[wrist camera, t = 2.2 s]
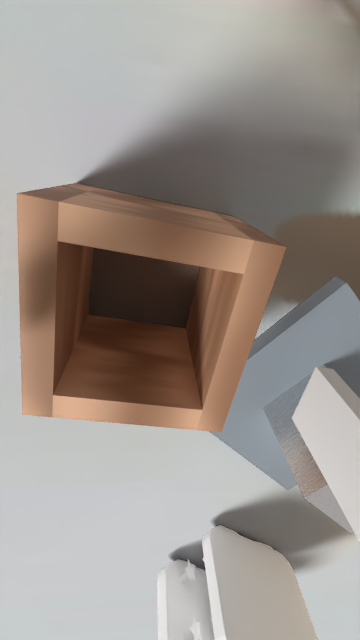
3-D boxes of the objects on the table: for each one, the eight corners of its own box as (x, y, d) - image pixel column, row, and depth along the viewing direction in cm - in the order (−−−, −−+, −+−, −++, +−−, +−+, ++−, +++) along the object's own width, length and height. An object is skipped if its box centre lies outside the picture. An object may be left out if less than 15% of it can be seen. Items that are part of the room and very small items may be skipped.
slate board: (180, 398, 27) (182, 410, 25) (335, 276, 23) (346, 282, 21) (282, 477, 33) (287, 490, 31) (418, 390, 29) (431, 401, 27)
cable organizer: (292, 551, 40) (341, 686, 30) (237, 588, 43) (264, 720, 33) (208, 515, 35) (231, 661, 24) (152, 559, 38) (152, 705, 28)
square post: (262, 407, 26) (304, 498, 19) (323, 364, 24) (394, 444, 17) (301, 442, 28) (351, 534, 21) (359, 404, 27) (434, 489, 20)
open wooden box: (68, 328, 23) (22, 414, 15) (75, 183, 19) (16, 193, 11) (198, 346, 24) (221, 432, 16) (233, 216, 20) (286, 246, 12)
